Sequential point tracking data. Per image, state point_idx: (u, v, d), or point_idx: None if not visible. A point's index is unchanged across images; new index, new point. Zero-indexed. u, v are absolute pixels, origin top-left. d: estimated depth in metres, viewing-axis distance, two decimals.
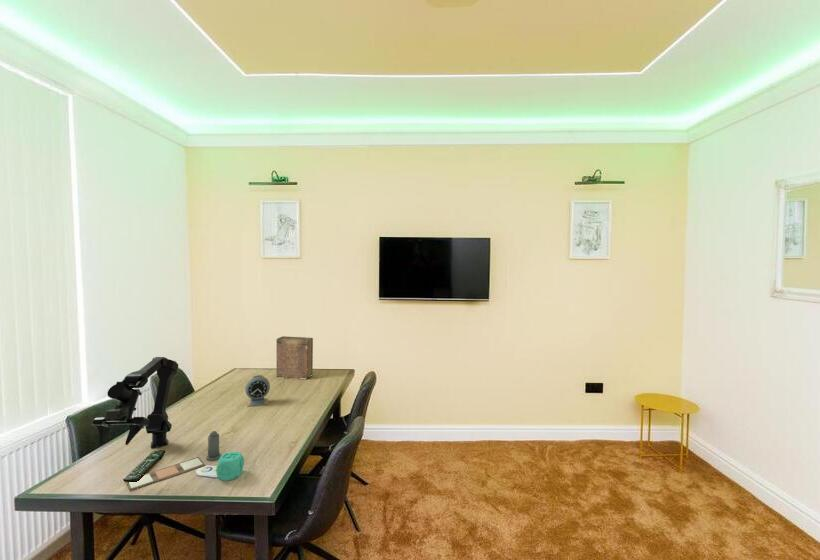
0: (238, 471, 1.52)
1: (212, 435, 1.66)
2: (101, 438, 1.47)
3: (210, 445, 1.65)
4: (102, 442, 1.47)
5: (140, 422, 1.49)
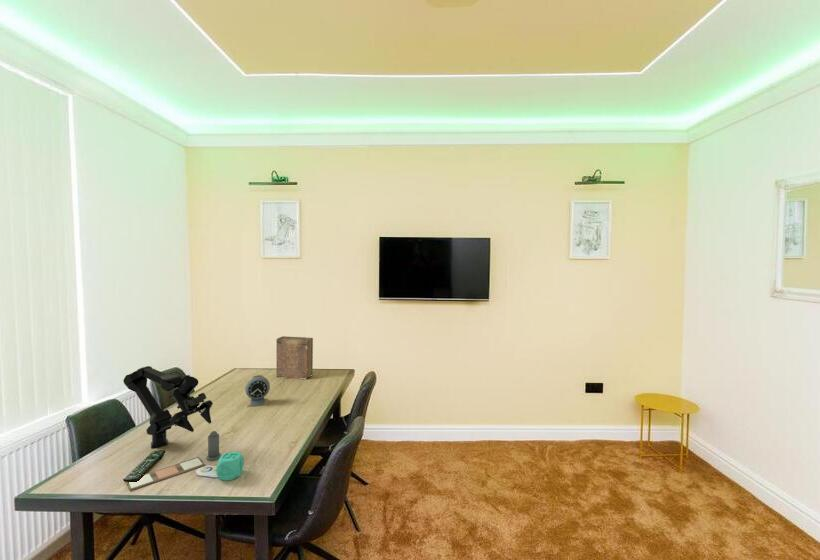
0: (238, 471, 1.52)
1: (212, 435, 1.66)
2: (190, 425, 1.65)
3: (210, 445, 1.65)
4: None
5: None
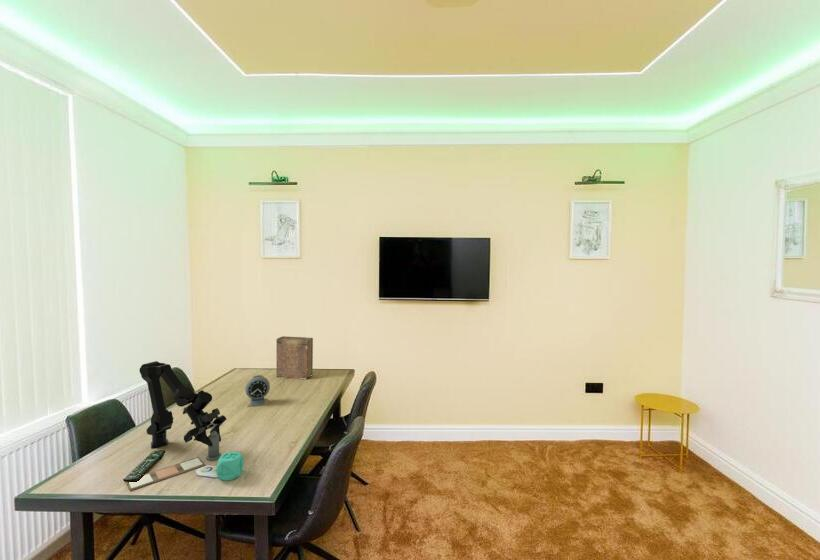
0: (238, 471, 1.52)
1: (212, 435, 1.66)
2: (209, 440, 1.64)
3: None
4: None
5: (225, 418, 1.76)
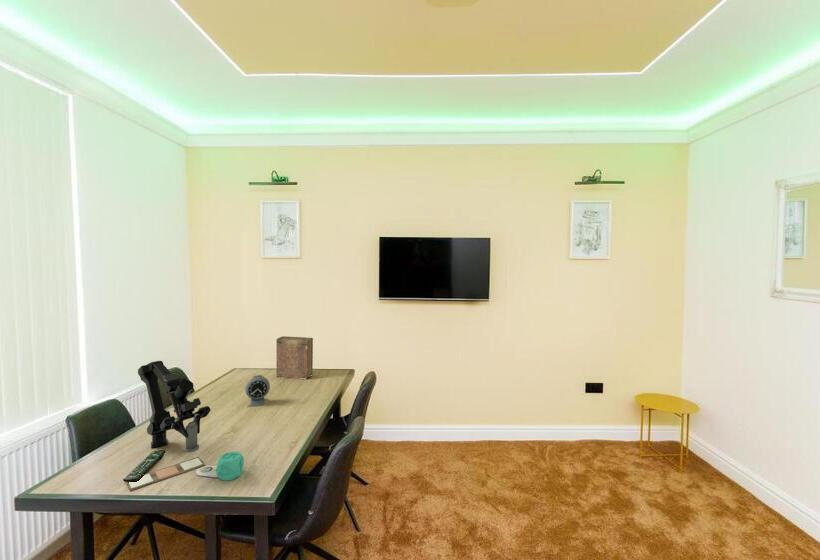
0: (238, 471, 1.52)
1: (189, 426, 1.59)
2: (185, 431, 1.58)
3: None
4: None
5: (209, 409, 1.69)
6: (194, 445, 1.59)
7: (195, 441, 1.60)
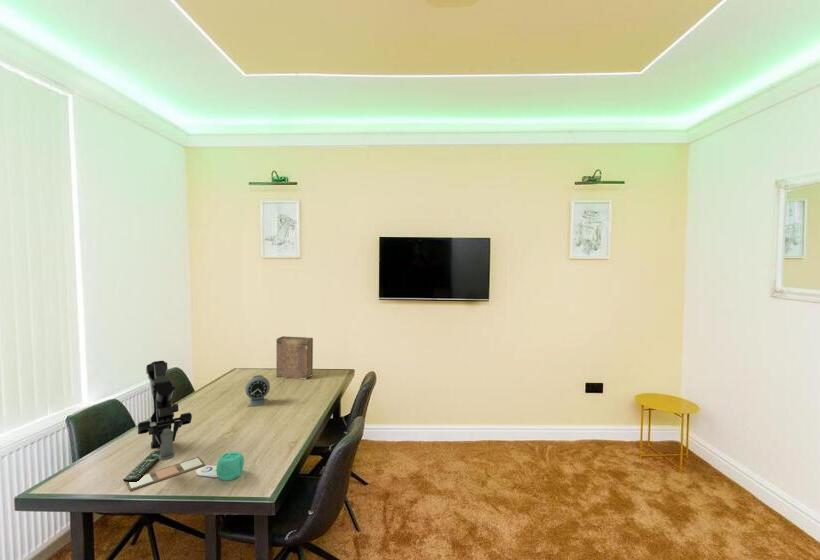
0: (238, 471, 1.52)
1: (163, 432, 1.52)
2: (159, 437, 1.52)
3: None
4: (160, 441, 1.52)
5: (190, 416, 1.61)
6: (167, 453, 1.52)
7: (169, 449, 1.53)
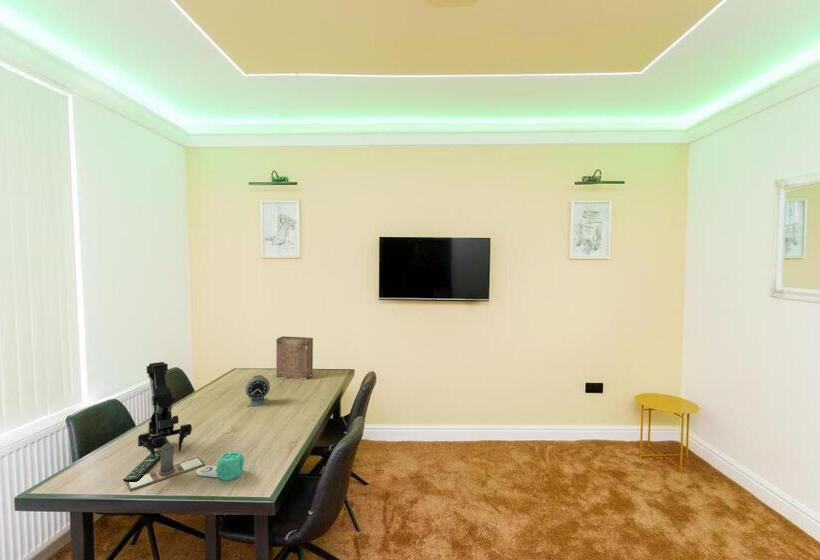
0: (238, 471, 1.52)
1: (163, 447, 1.53)
2: (153, 451, 1.51)
3: (160, 458, 1.52)
4: (154, 455, 1.51)
5: (190, 428, 1.61)
6: (168, 468, 1.53)
7: (169, 464, 1.53)
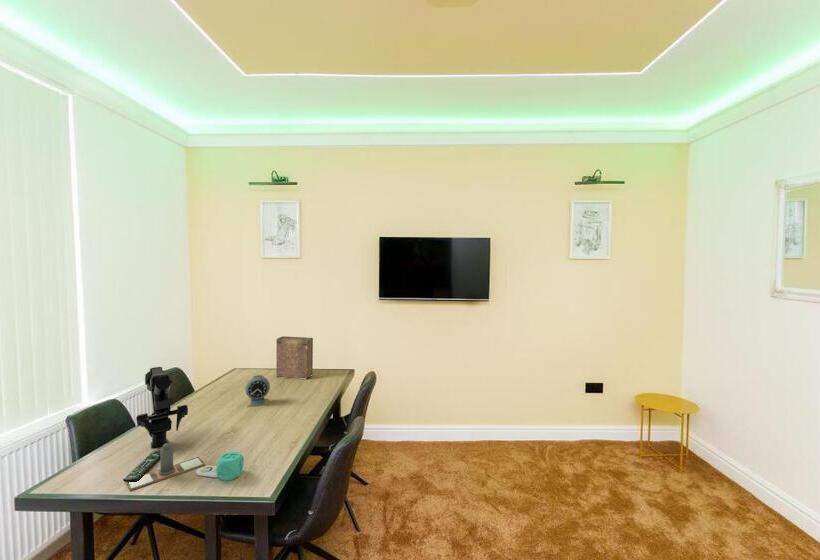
0: (238, 471, 1.52)
1: (163, 448, 1.53)
2: (150, 430, 1.58)
3: (160, 458, 1.52)
4: (151, 434, 1.58)
5: (186, 408, 1.67)
6: (168, 468, 1.53)
7: (169, 464, 1.53)
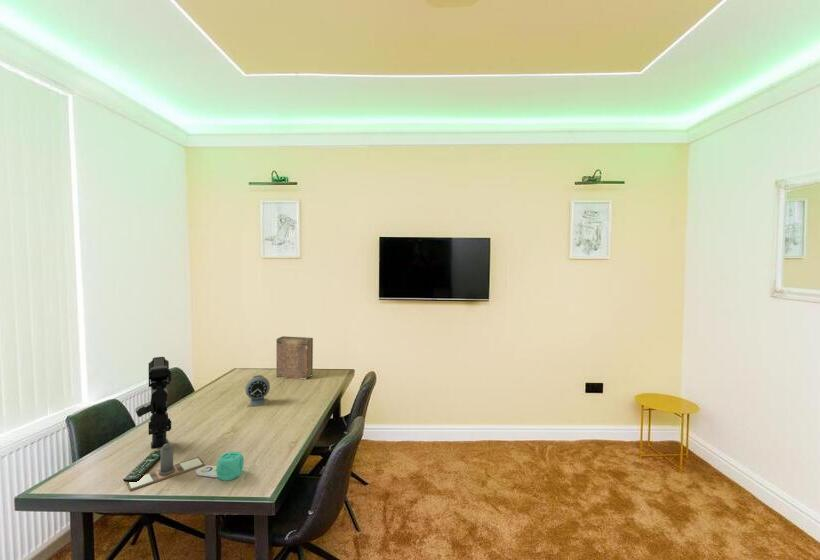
0: (238, 471, 1.52)
1: (163, 447, 1.53)
2: None
3: (160, 458, 1.52)
4: None
5: (151, 422, 1.57)
6: (168, 468, 1.53)
7: (169, 464, 1.53)
